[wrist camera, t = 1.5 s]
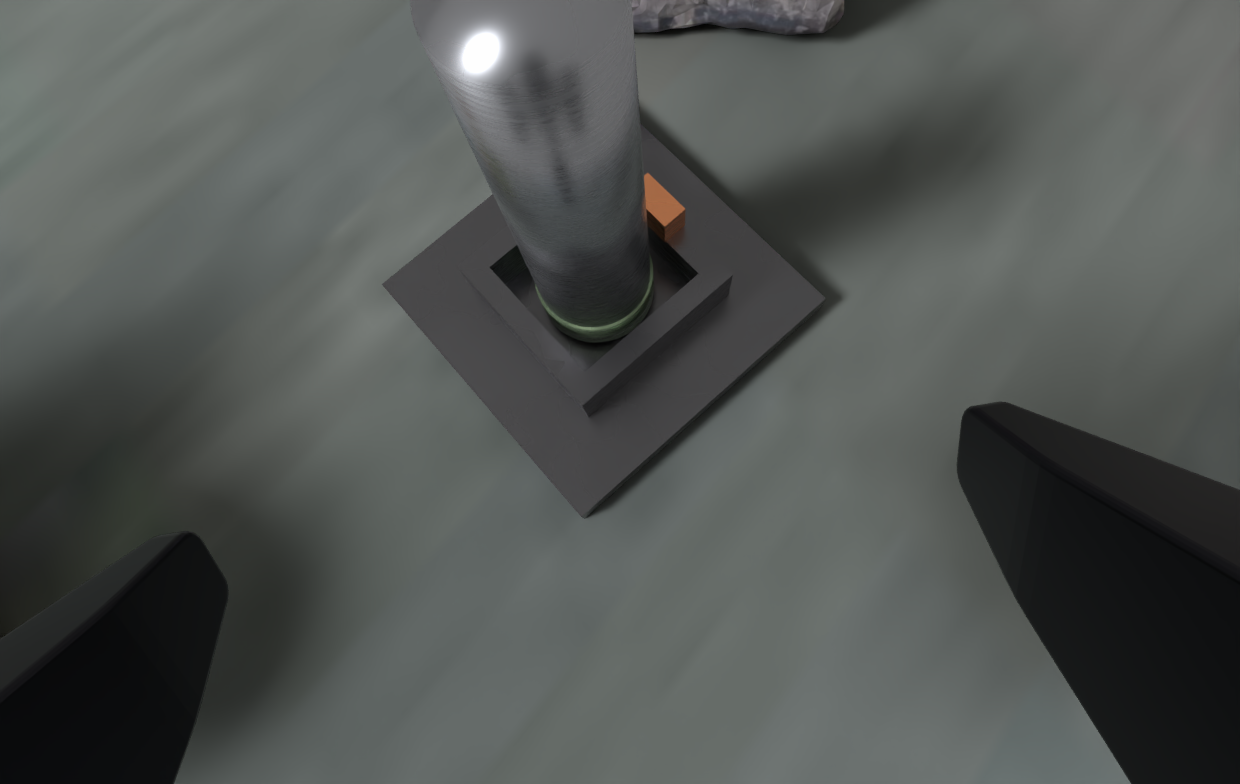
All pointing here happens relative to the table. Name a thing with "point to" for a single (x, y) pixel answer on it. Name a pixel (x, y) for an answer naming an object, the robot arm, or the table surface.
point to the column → (555, 144)
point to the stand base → (622, 368)
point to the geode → (739, 14)
